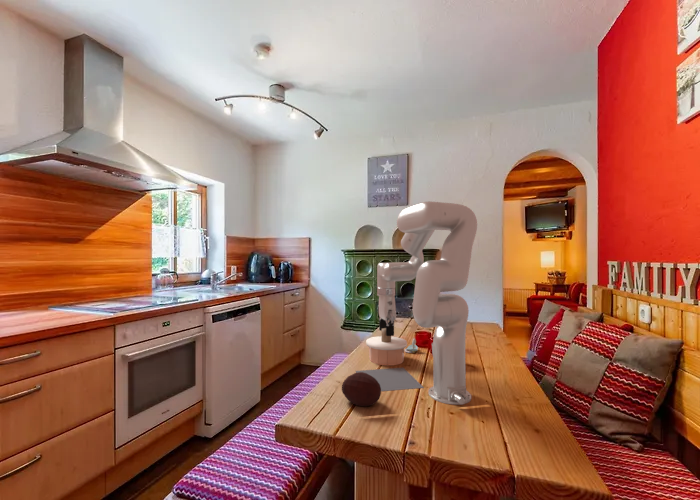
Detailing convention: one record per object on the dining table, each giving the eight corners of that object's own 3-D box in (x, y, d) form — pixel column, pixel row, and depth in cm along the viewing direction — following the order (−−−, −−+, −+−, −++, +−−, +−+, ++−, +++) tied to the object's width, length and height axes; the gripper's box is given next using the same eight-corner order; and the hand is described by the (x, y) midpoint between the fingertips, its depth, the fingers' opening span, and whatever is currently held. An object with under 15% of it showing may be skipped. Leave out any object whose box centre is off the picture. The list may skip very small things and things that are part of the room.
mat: (424, 389, 101) (423, 387, 101) (367, 394, 98) (367, 392, 98) (403, 369, 120) (403, 367, 120) (355, 372, 116) (355, 370, 116)
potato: (377, 415, 84) (376, 381, 85) (336, 408, 89) (336, 375, 89) (384, 401, 93) (384, 370, 93) (347, 395, 97) (347, 365, 97)
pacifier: (404, 353, 140) (417, 354, 139) (403, 339, 140) (417, 340, 139) (405, 349, 147) (417, 349, 146) (404, 335, 147) (417, 336, 146)
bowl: (408, 365, 124) (408, 347, 124) (374, 367, 121) (374, 349, 122) (396, 354, 138) (396, 338, 138) (366, 356, 135) (366, 340, 135)
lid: (413, 348, 123) (413, 333, 123) (372, 351, 120) (371, 335, 120) (398, 337, 140) (398, 324, 140) (361, 339, 136) (361, 325, 136)
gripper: (401, 294, 123) (402, 337, 122) (388, 289, 139) (388, 328, 139) (383, 294, 121) (383, 338, 121) (372, 290, 138) (372, 328, 138)
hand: (386, 332), depth 130 cm, fingers open, 9 cm apart
